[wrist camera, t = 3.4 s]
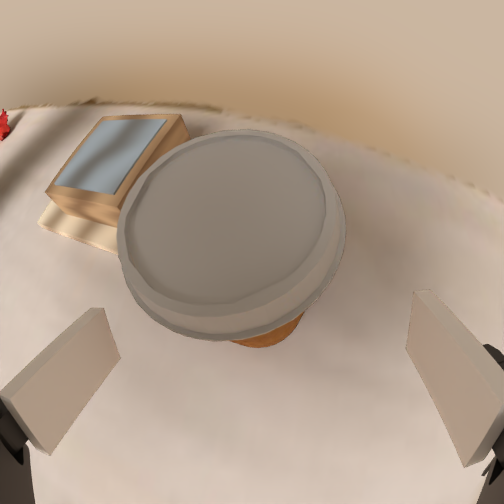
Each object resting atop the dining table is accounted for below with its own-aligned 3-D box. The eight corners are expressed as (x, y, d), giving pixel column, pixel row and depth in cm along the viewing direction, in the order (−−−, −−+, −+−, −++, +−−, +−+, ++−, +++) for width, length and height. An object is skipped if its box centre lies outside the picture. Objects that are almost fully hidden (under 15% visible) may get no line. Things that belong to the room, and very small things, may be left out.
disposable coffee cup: (257, 225, 25) (227, 102, 14) (351, 298, 21) (397, 191, 10) (170, 307, 22) (76, 222, 12) (259, 399, 18) (208, 397, 8)
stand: (43, 228, 29) (15, 202, 24) (97, 146, 34) (79, 117, 30) (177, 274, 24) (148, 240, 19) (235, 156, 29) (223, 114, 24)
